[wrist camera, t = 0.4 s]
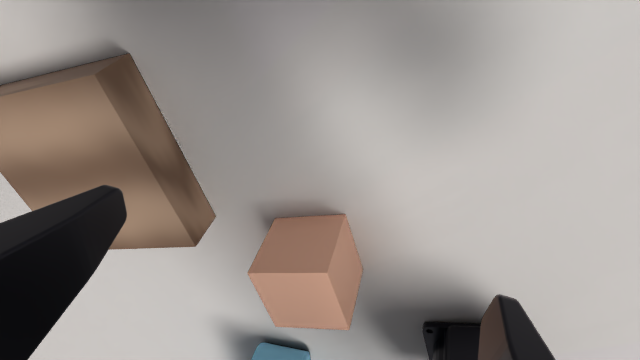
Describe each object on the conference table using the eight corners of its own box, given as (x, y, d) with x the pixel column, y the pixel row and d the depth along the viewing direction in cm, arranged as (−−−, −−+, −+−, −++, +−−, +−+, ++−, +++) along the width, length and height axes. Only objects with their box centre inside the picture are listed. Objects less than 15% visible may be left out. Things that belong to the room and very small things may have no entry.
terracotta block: (363, 268, 30) (349, 329, 26) (297, 269, 32) (275, 326, 28) (345, 213, 27) (327, 272, 23) (275, 217, 29) (247, 273, 25)
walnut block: (215, 216, 30) (195, 246, 28) (91, 224, 35) (64, 250, 32) (129, 53, 24) (94, 74, 22) (-10, 87, 28) (-52, 108, 26)
